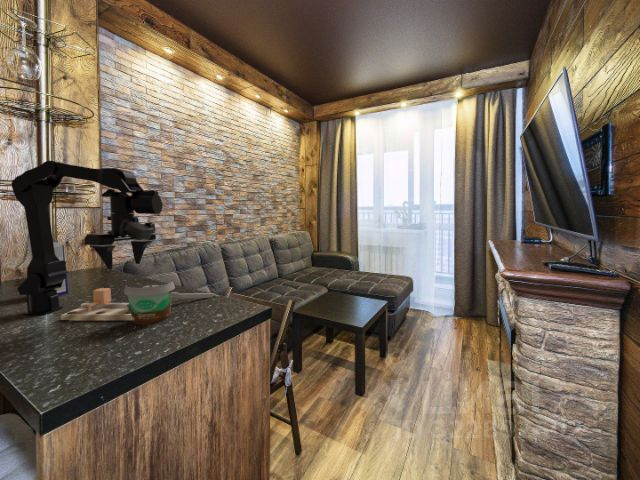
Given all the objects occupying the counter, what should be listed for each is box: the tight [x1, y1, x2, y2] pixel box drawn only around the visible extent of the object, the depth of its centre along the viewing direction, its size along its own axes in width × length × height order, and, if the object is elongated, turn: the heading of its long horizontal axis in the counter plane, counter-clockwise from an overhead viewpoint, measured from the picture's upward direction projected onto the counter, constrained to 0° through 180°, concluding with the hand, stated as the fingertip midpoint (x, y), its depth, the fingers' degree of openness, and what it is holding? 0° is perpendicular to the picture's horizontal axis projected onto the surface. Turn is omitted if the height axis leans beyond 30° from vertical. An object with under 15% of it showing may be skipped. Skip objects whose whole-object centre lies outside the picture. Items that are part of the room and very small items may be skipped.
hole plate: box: [60, 302, 132, 321], centre depth 87 cm, size 19×11×6 cm, turn 91°
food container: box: [123, 280, 176, 325], centre depth 81 cm, size 12×6×10 cm, turn 117°
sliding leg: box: [87, 287, 112, 311], centre depth 87 cm, size 3×7×5 cm, turn 1°
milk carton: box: [28, 239, 69, 297], centre depth 106 cm, size 7×7×20 cm
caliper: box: [171, 291, 218, 302], centre depth 99 cm, size 20×1×6 cm, turn 137°
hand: (124, 266), depth 88 cm, fingers open, 9 cm apart
